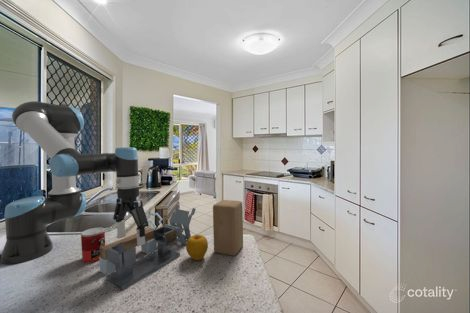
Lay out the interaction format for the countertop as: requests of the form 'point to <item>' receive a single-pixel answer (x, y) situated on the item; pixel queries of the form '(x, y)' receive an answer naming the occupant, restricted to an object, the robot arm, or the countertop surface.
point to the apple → (197, 247)
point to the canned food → (92, 244)
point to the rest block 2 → (149, 246)
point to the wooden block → (228, 227)
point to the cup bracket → (137, 270)
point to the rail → (126, 242)
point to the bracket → (180, 220)
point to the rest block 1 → (106, 266)
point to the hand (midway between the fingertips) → (130, 241)
